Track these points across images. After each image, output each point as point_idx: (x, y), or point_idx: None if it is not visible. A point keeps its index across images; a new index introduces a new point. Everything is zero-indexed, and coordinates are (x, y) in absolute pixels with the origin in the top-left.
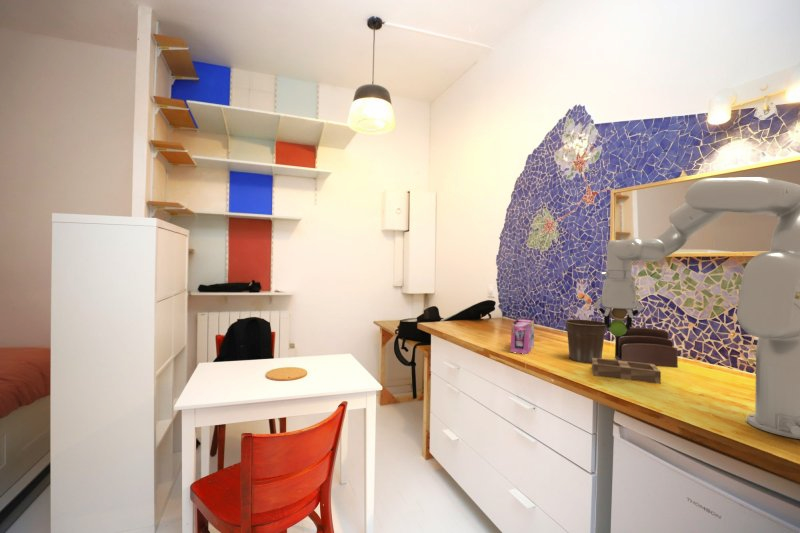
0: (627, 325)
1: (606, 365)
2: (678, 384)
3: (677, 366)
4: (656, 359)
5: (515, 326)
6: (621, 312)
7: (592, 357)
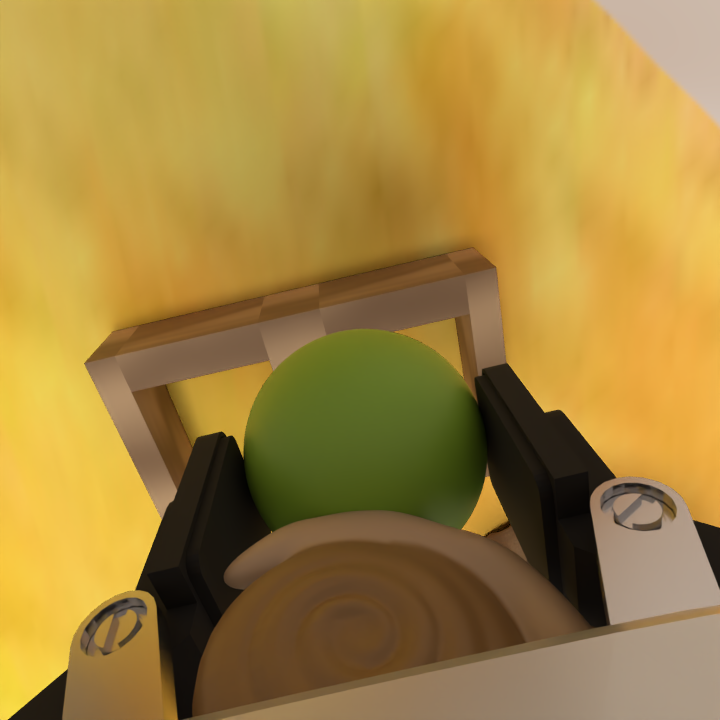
0: (222, 463)
1: (412, 296)
2: (37, 389)
3: None
4: None
5: None
6: (313, 651)
7: (511, 548)
